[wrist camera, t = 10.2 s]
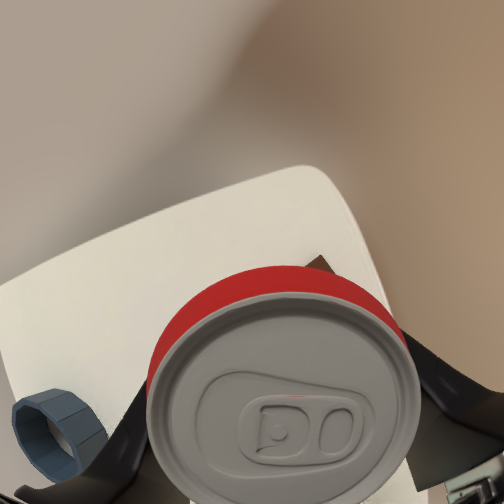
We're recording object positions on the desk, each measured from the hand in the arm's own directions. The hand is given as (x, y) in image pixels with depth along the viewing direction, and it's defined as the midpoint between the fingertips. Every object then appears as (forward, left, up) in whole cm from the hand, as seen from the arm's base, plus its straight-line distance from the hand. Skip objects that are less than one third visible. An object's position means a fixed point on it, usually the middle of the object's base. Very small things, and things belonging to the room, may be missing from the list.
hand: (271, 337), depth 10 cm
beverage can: (-1, +1, -7) cm, 7 cm away
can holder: (+1, +25, -13) cm, 29 cm away
